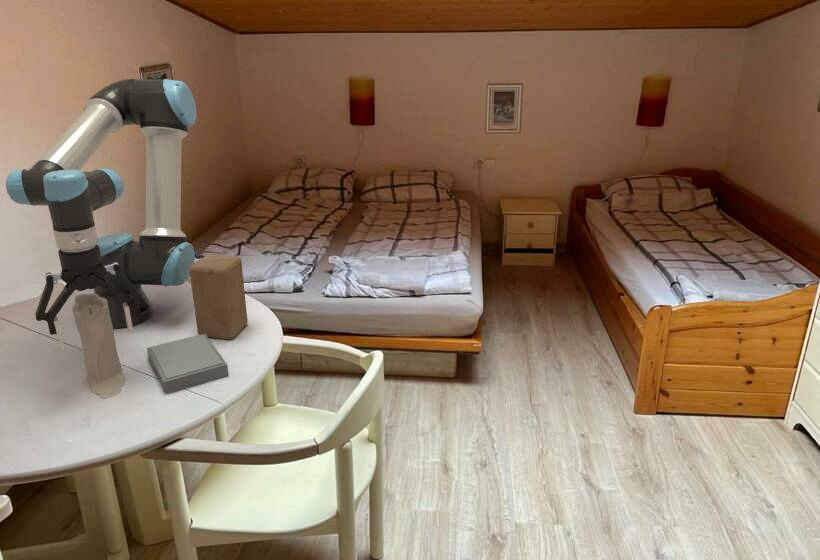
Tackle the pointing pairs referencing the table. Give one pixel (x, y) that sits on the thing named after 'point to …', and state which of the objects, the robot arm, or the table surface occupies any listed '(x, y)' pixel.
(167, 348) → the grey flat block
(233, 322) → the wooden block
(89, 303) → the candle
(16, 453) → the table surface
